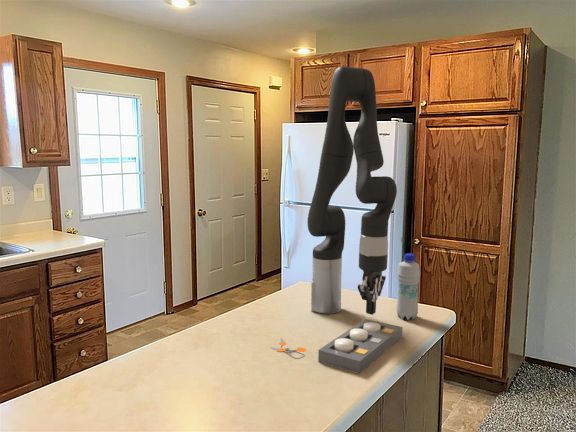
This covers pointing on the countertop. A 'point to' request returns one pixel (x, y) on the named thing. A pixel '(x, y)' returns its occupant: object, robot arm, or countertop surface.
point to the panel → (361, 348)
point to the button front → (344, 345)
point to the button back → (372, 327)
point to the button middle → (359, 335)
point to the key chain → (289, 349)
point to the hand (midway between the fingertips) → (370, 313)
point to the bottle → (408, 287)
